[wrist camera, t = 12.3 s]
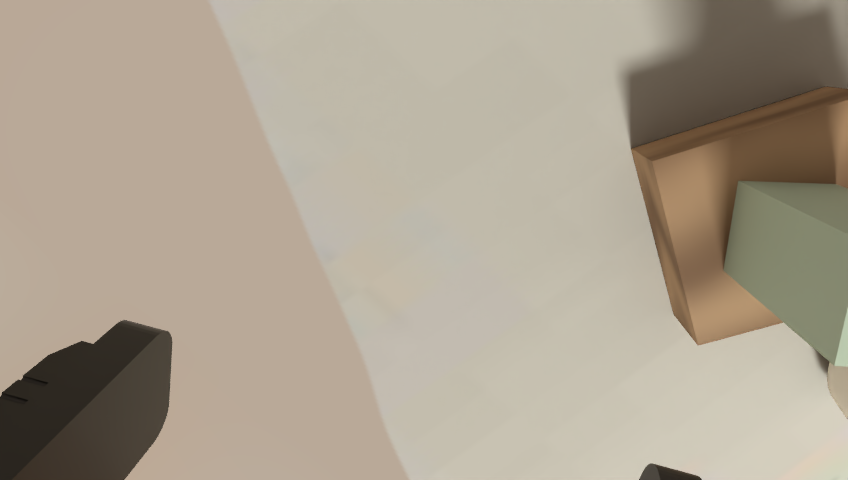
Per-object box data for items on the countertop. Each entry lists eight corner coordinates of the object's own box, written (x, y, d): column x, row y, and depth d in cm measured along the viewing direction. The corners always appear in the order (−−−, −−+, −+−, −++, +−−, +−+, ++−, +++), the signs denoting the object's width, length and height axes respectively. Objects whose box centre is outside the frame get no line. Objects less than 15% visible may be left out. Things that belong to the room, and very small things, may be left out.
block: (723, 270, 32) (834, 366, 22) (738, 180, 31) (862, 241, 21) (817, 274, 32) (969, 372, 22) (835, 184, 31) (1006, 247, 21)
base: (631, 148, 35) (652, 161, 31) (825, 86, 33) (872, 91, 29) (673, 314, 37) (698, 345, 33) (856, 263, 36) (903, 289, 32)
